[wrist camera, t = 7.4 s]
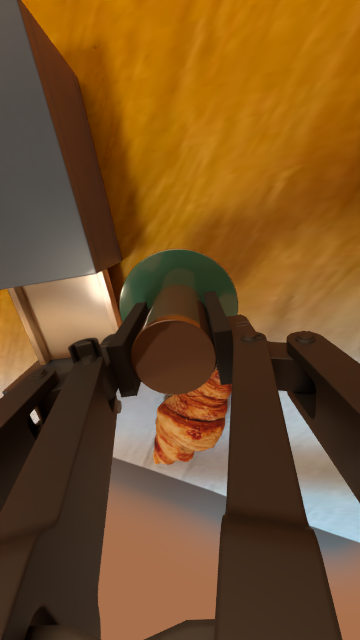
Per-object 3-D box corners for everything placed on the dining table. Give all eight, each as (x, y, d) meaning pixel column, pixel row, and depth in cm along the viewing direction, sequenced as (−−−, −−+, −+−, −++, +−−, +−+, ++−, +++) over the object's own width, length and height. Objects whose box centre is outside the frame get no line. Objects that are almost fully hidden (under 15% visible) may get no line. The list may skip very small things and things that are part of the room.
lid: (231, 237, 16) (266, 245, 9) (240, 350, 19) (272, 422, 12) (107, 259, 17) (49, 282, 10) (136, 364, 20) (108, 439, 13)
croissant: (174, 441, 45) (191, 486, 39) (125, 445, 39) (136, 498, 33) (236, 358, 37) (269, 398, 31) (186, 348, 32) (215, 394, 26)
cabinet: (122, 260, 30) (96, 273, 21) (12, 279, 31) (-54, 298, 22) (77, 76, 23) (14, -11, 15) (-60, 109, 24) (-189, 47, 16)
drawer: (150, 388, 35) (141, 426, 28) (56, 399, 36) (26, 438, 29) (106, 213, 26) (78, 207, 20) (-15, 235, 28) (-80, 238, 21)
